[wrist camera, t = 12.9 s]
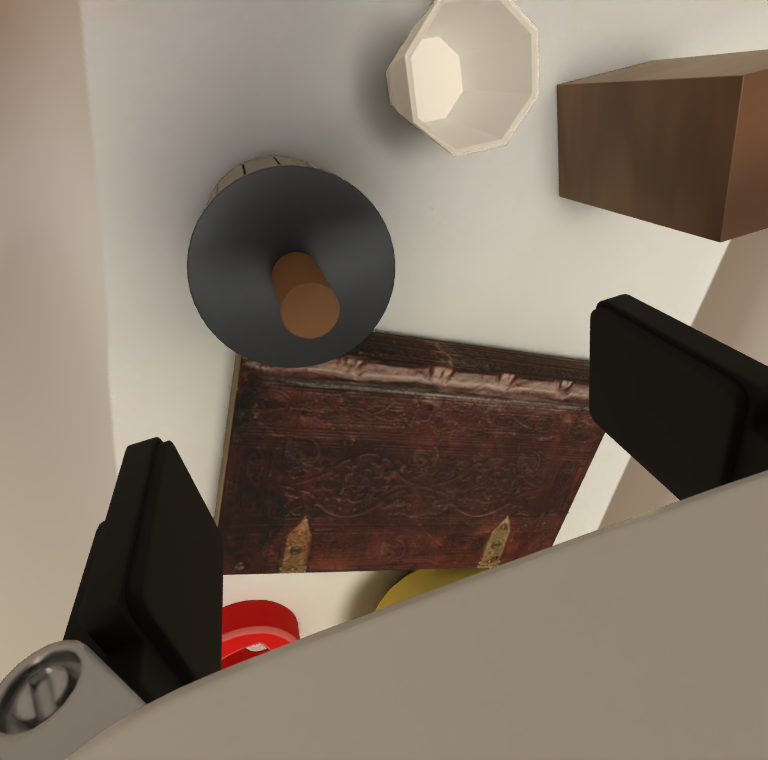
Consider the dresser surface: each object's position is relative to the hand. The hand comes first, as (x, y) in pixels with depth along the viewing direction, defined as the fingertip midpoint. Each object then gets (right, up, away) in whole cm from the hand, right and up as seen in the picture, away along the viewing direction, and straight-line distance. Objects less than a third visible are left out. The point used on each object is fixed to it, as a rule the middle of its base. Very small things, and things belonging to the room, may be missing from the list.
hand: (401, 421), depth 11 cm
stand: (+15, +18, +24) cm, 33 cm away
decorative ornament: (-13, -23, +38) cm, 46 cm away
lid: (-5, +6, +14) cm, 16 cm away
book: (+2, -4, +32) cm, 32 cm away
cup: (+2, +20, +19) cm, 28 cm away
